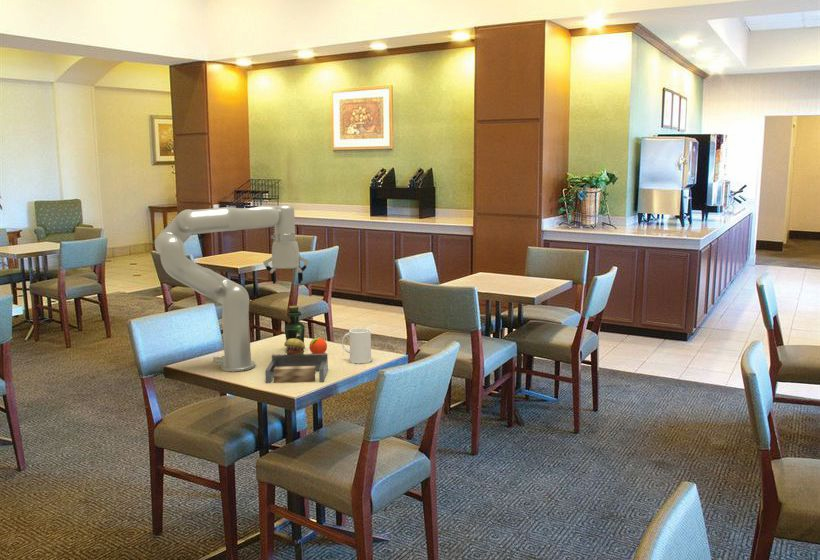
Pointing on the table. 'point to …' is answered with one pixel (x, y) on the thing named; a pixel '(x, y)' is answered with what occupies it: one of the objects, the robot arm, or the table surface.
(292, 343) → the burger with flag pick
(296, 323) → the potion bottle
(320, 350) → the clementine
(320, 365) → the frame
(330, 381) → the table surface
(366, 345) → the mug
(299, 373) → the light brown long block
